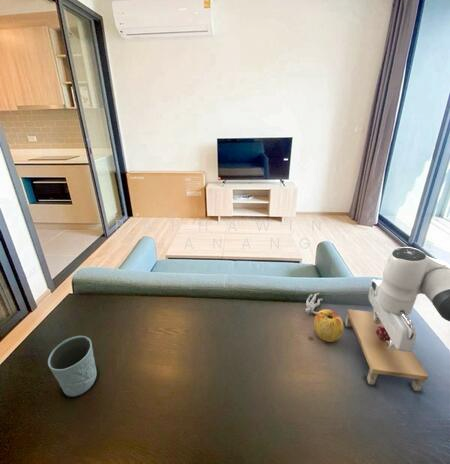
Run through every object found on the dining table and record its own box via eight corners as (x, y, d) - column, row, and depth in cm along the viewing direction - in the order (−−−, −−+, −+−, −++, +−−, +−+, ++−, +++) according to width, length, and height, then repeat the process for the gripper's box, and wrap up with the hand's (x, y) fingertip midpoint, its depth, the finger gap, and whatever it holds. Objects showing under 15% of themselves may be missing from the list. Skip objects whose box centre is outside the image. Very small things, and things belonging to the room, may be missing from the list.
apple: (341, 331, 86) (346, 309, 83) (339, 352, 79) (344, 329, 75) (314, 322, 90) (318, 300, 87) (310, 341, 83) (314, 318, 79)
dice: (392, 344, 74) (396, 335, 73) (376, 342, 75) (379, 332, 74) (387, 334, 78) (390, 324, 76) (372, 331, 79) (375, 322, 77)
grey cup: (106, 370, 73) (99, 340, 69) (78, 406, 64) (68, 375, 60) (80, 360, 76) (71, 331, 72) (49, 393, 67) (38, 363, 63)
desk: (384, 327, 88) (389, 313, 86) (421, 392, 68) (428, 376, 65) (344, 322, 90) (347, 309, 88) (368, 384, 70) (373, 369, 67)
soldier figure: (327, 306, 99) (322, 318, 88) (316, 310, 101) (310, 322, 91) (316, 288, 101) (310, 297, 91) (306, 293, 103) (299, 302, 93)
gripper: (429, 330, 61) (413, 368, 66) (389, 278, 80) (379, 311, 85) (401, 327, 62) (388, 365, 67) (369, 276, 81) (360, 309, 86)
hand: (383, 334), depth 76 cm, fingers open, 8 cm apart
